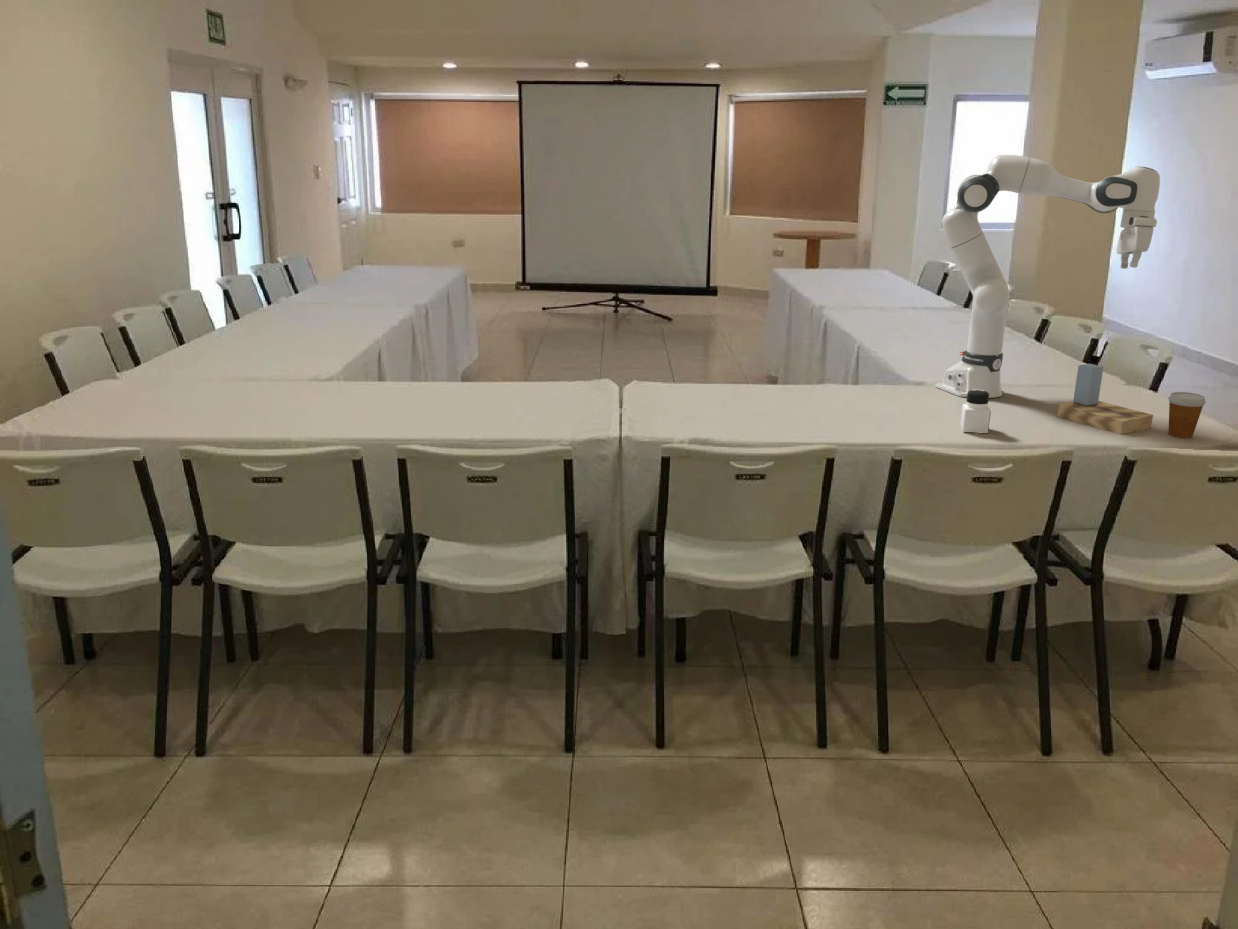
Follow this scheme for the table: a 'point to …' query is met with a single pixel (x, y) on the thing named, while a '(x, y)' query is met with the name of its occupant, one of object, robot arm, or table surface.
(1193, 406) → the disposable coffee cup
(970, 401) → the medicine bottle
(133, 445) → the table surface
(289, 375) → the table surface
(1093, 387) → the block
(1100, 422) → the board
